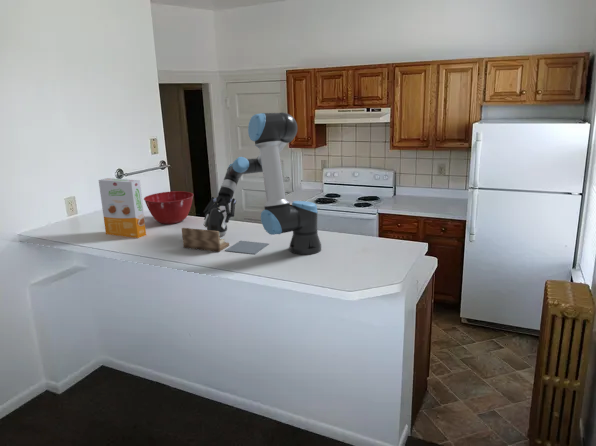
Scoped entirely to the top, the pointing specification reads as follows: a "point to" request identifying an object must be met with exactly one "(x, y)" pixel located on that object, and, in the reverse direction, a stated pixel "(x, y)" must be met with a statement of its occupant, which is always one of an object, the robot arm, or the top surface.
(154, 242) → the top surface
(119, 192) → the cereal box
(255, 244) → the slate mat
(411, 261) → the top surface
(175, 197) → the mixing bowl
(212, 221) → the black and white ovoid
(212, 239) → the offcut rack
